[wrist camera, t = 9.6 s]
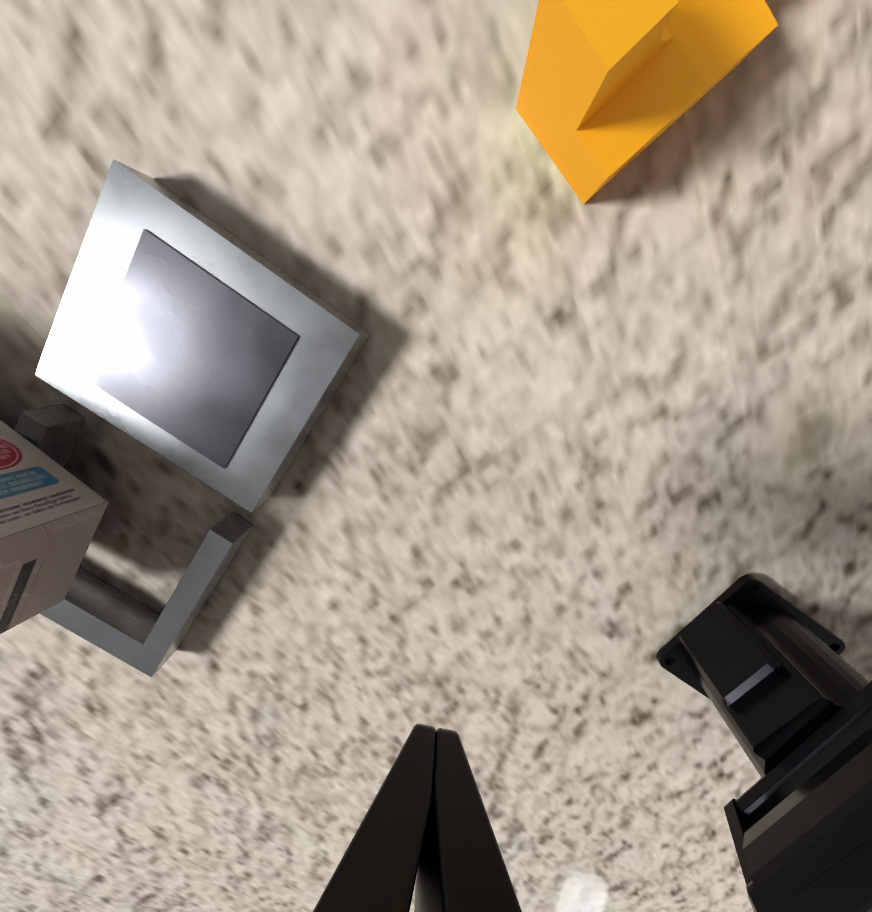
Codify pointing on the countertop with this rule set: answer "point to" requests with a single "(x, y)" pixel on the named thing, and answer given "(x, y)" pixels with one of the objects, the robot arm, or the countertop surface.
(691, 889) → the countertop surface
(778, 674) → the robot arm
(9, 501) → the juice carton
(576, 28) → the pipe clamp
